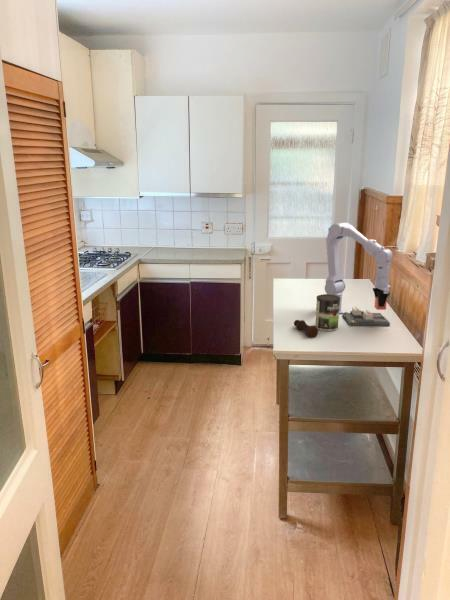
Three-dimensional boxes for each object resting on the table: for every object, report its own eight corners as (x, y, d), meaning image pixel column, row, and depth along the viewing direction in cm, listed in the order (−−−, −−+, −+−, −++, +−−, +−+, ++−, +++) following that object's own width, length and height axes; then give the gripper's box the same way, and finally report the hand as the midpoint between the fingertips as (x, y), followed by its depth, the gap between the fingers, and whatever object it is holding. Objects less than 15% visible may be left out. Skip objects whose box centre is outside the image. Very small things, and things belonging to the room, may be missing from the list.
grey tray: (349, 325, 219) (350, 320, 218) (342, 315, 233) (342, 310, 232) (389, 326, 218) (390, 320, 218) (379, 315, 233) (380, 311, 232)
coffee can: (343, 328, 215) (345, 298, 211) (324, 332, 210) (326, 301, 206) (328, 322, 224) (329, 293, 220) (310, 325, 219) (311, 295, 215)
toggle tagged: (365, 320, 220) (366, 313, 219) (362, 317, 225) (363, 310, 224) (372, 320, 220) (372, 313, 219) (369, 317, 225) (369, 310, 224)
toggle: (354, 316, 226) (355, 309, 225) (351, 313, 231) (352, 306, 230) (360, 316, 226) (361, 309, 225) (358, 313, 231) (358, 306, 230)
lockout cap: (377, 309, 220) (378, 297, 218) (374, 307, 223) (375, 295, 222) (385, 309, 220) (386, 297, 218) (383, 307, 223) (384, 295, 222)
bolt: (297, 330, 218) (314, 340, 205) (289, 326, 216) (305, 336, 203) (303, 319, 218) (320, 328, 204) (295, 314, 216) (311, 324, 202)
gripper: (396, 279, 210) (393, 309, 214) (386, 272, 224) (383, 300, 228) (380, 279, 210) (377, 309, 214) (371, 272, 224) (368, 300, 228)
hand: (379, 304), depth 221 cm, fingers closed on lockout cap, 4 cm apart
